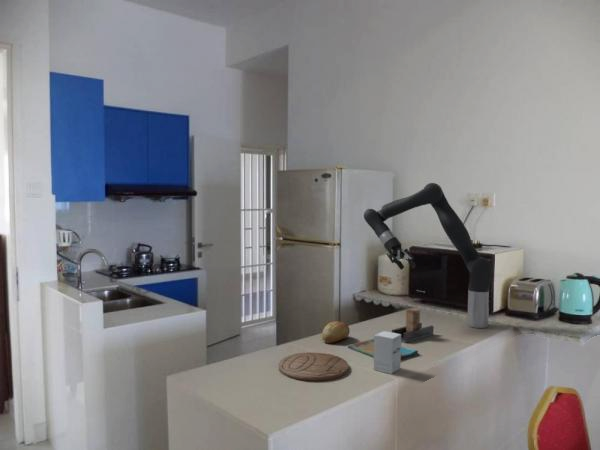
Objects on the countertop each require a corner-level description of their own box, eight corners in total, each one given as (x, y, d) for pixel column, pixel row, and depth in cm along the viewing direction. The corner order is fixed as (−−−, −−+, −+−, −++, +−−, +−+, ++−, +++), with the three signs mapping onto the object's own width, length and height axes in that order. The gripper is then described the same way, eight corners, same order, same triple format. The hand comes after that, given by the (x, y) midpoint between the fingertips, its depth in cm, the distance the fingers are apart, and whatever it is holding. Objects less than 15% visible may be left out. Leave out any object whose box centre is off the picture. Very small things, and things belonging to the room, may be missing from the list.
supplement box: (391, 374, 162) (392, 338, 161) (372, 369, 166) (373, 334, 166) (401, 368, 168) (401, 333, 167) (382, 364, 172) (383, 330, 171)
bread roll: (355, 338, 204) (355, 320, 204) (335, 346, 193) (335, 327, 192) (337, 334, 210) (337, 316, 210) (317, 341, 199) (317, 323, 198)
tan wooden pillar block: (412, 332, 210) (413, 308, 209) (419, 334, 207) (419, 309, 207) (405, 334, 207) (406, 310, 206) (412, 336, 204) (412, 311, 203)
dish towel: (389, 365, 172) (389, 358, 172) (346, 349, 191) (346, 343, 191) (420, 356, 182) (420, 350, 182) (376, 341, 201) (376, 336, 201)
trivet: (354, 361, 176) (354, 356, 176) (340, 386, 152) (340, 380, 152) (290, 354, 183) (290, 349, 183) (268, 377, 159) (268, 372, 159)
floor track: (419, 331, 216) (419, 322, 216) (433, 334, 210) (433, 326, 210) (391, 338, 204) (391, 329, 203) (405, 343, 198) (405, 333, 198)
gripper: (384, 237, 222) (403, 264, 213) (403, 236, 231) (422, 261, 222) (376, 247, 226) (394, 274, 218) (395, 245, 235) (413, 271, 227)
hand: (408, 267), depth 220 cm, fingers open, 8 cm apart
